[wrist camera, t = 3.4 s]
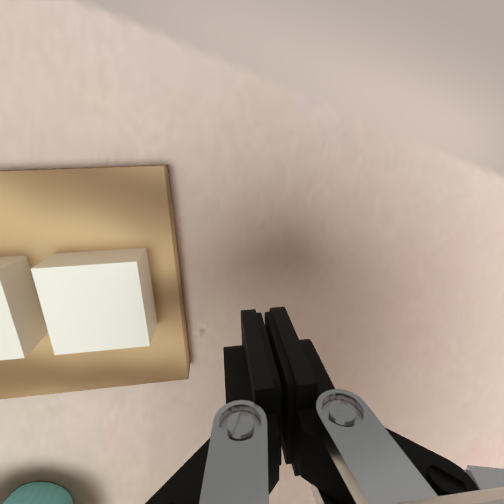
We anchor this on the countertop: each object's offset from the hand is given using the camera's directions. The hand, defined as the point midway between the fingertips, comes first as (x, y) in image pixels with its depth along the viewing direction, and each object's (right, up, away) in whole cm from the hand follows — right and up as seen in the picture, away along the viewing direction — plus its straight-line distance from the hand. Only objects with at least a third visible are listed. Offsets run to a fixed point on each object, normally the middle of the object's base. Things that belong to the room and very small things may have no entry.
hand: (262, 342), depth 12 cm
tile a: (-9, +1, +6) cm, 11 cm away
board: (-13, +1, +8) cm, 15 cm away
